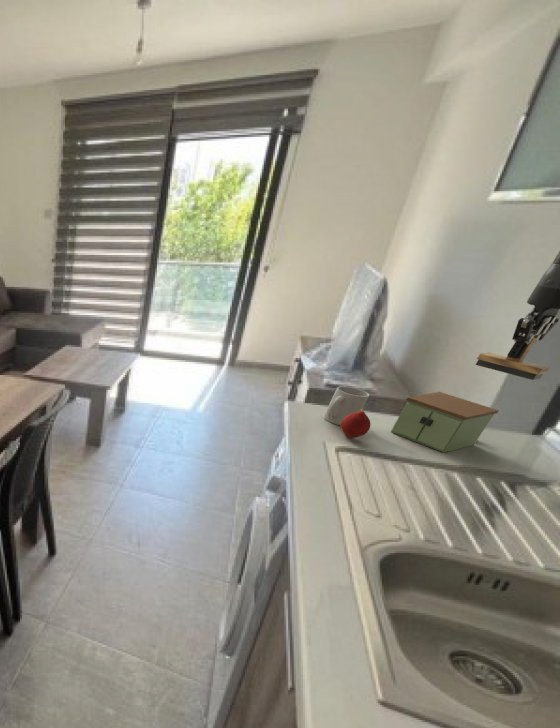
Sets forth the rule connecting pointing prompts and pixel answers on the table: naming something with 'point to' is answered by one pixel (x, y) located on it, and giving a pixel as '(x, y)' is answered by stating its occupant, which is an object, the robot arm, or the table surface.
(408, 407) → the cabinet
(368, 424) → the onion
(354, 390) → the cup
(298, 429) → the table surface
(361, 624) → the table surface
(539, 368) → the brush
